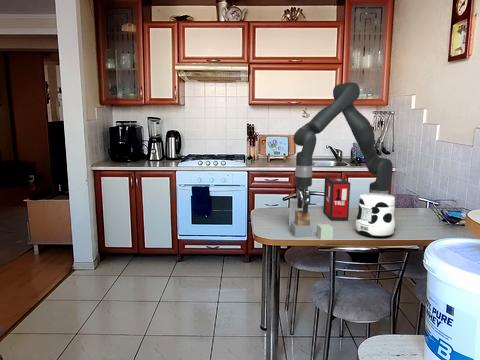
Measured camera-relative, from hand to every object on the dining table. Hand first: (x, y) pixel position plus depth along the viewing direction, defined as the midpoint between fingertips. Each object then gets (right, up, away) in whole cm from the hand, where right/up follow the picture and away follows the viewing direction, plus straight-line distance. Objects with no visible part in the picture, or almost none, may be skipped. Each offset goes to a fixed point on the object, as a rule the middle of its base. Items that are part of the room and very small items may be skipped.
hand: (302, 210), depth 179 cm
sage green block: (+10, -12, -3) cm, 16 cm away
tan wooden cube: (0, -6, +1) cm, 6 cm away
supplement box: (0, -9, +17) cm, 19 cm away
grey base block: (0, -11, +2) cm, 11 cm away
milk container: (+34, -11, +4) cm, 36 cm away
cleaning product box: (+23, -6, +33) cm, 40 cm away
